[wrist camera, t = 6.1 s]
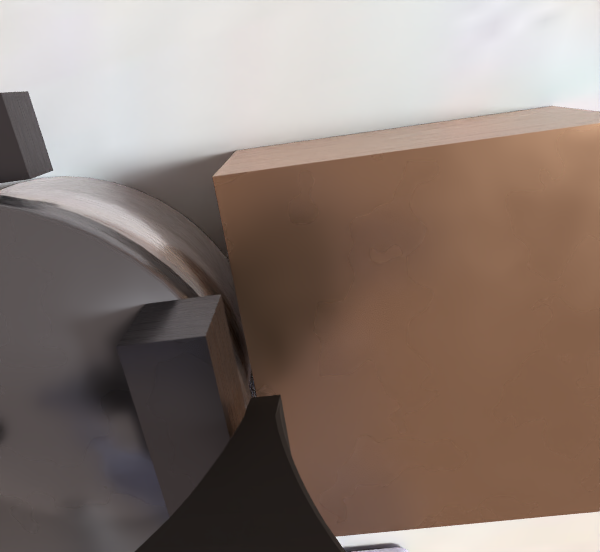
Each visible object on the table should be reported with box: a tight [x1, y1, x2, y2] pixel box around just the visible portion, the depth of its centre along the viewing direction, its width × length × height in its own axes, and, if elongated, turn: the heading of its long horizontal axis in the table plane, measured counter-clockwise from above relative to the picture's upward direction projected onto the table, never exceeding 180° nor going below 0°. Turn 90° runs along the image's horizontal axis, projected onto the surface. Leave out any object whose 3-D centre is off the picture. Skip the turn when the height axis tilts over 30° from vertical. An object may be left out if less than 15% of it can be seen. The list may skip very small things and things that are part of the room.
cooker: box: [0, 91, 600, 537], centre depth 16 cm, size 17×22×4 cm
